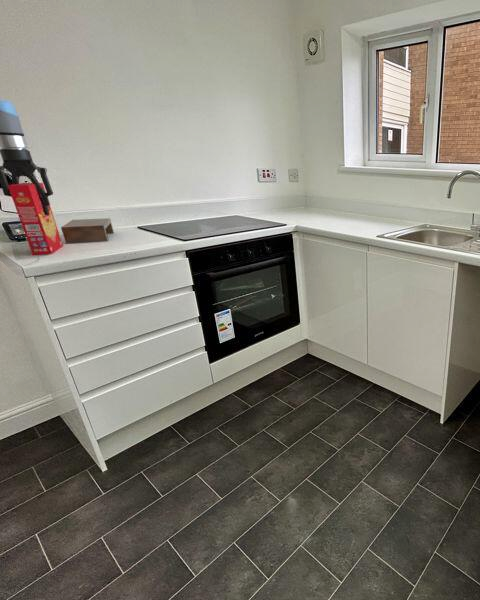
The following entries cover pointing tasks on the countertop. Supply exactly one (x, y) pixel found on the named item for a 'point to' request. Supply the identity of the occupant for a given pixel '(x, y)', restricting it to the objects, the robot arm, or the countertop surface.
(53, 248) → the food packaging
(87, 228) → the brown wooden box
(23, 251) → the countertop surface
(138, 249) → the countertop surface
